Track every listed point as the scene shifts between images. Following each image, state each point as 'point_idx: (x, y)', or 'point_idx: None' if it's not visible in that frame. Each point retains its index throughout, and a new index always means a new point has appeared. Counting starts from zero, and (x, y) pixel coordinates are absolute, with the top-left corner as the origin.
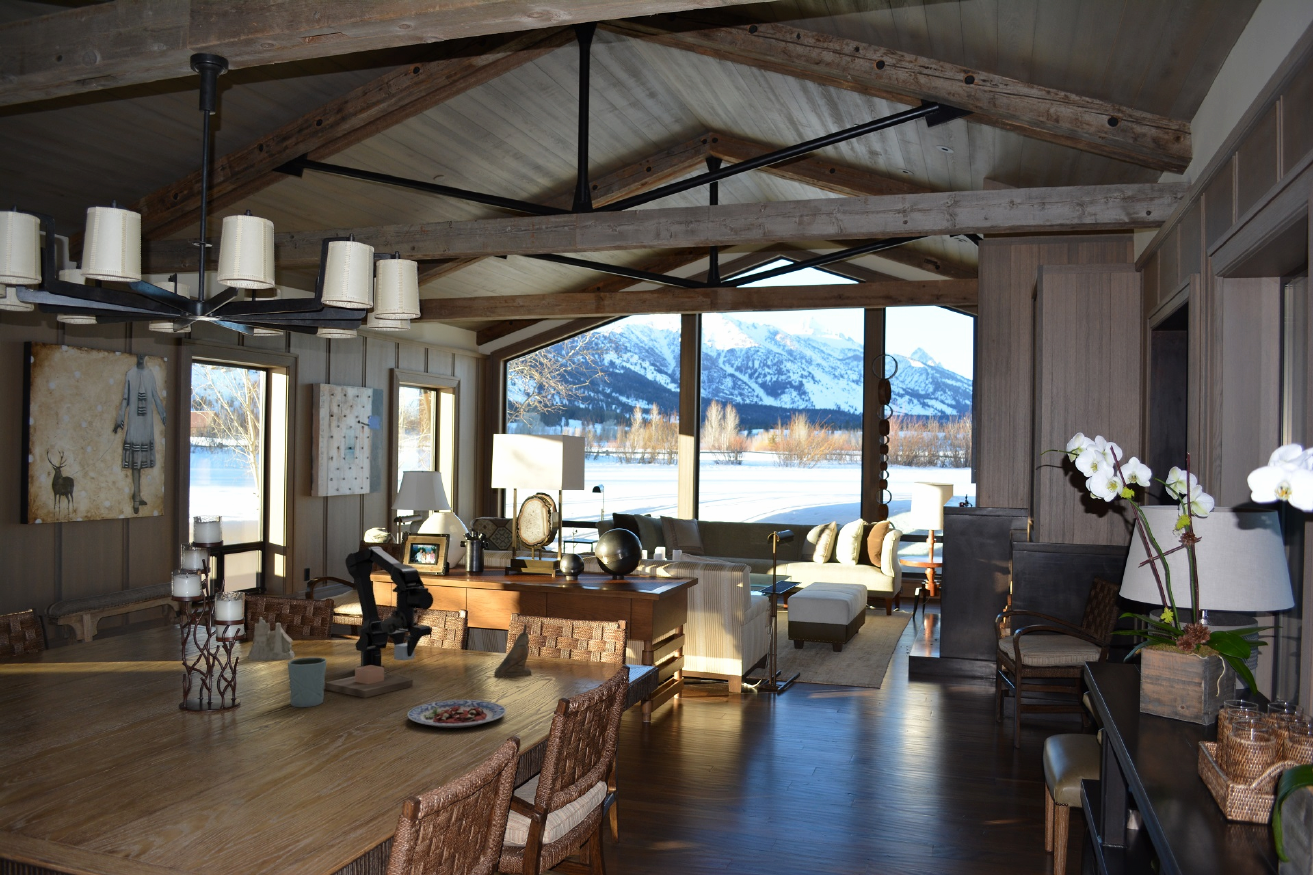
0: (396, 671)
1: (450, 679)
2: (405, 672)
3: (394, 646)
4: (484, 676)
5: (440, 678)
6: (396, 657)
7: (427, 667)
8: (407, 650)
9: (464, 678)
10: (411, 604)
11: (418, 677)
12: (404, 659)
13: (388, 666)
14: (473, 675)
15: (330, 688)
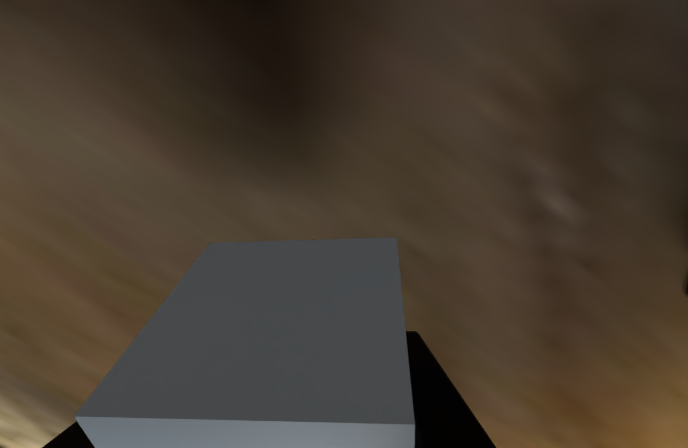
0: (492, 270)
1: (19, 312)
2: (405, 285)
3: (406, 390)
4: (15, 427)
5: (77, 298)
6: (346, 253)
7: None
8: None
9: (11, 363)
10: None
11: (190, 238)
12: (207, 261)
13: (679, 338)
14: (63, 419)
15: None
